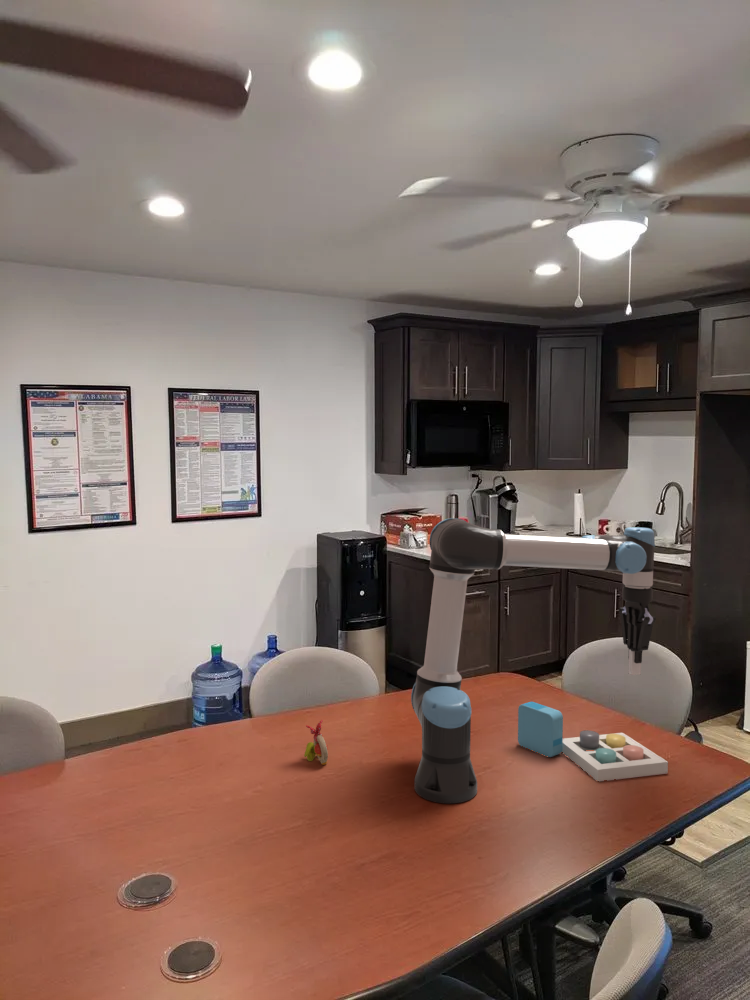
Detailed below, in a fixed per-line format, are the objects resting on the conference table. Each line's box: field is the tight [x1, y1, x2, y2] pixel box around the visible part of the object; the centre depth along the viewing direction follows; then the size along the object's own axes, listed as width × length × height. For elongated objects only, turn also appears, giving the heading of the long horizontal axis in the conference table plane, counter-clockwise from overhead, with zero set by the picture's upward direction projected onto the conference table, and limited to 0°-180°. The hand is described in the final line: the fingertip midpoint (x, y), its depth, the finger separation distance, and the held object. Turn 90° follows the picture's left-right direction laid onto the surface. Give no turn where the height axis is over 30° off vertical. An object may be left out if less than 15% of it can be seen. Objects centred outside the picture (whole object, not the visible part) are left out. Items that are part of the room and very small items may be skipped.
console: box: [562, 732, 669, 782], centre depth 188 cm, size 20×20×3 cm
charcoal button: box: [579, 729, 600, 749], centre depth 191 cm, size 5×5×3 cm
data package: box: [517, 701, 564, 758], centre depth 195 cm, size 12×4×12 cm, turn 38°
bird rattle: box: [303, 719, 329, 766], centre depth 187 cm, size 6×11×9 cm
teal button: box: [596, 748, 616, 764], centre depth 183 cm, size 5×5×3 cm
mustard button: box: [606, 733, 626, 748], centre depth 193 cm, size 5×5×3 cm
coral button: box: [623, 745, 644, 761], centre depth 185 cm, size 5×5×3 cm
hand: (634, 673), depth 189 cm, fingers closed
